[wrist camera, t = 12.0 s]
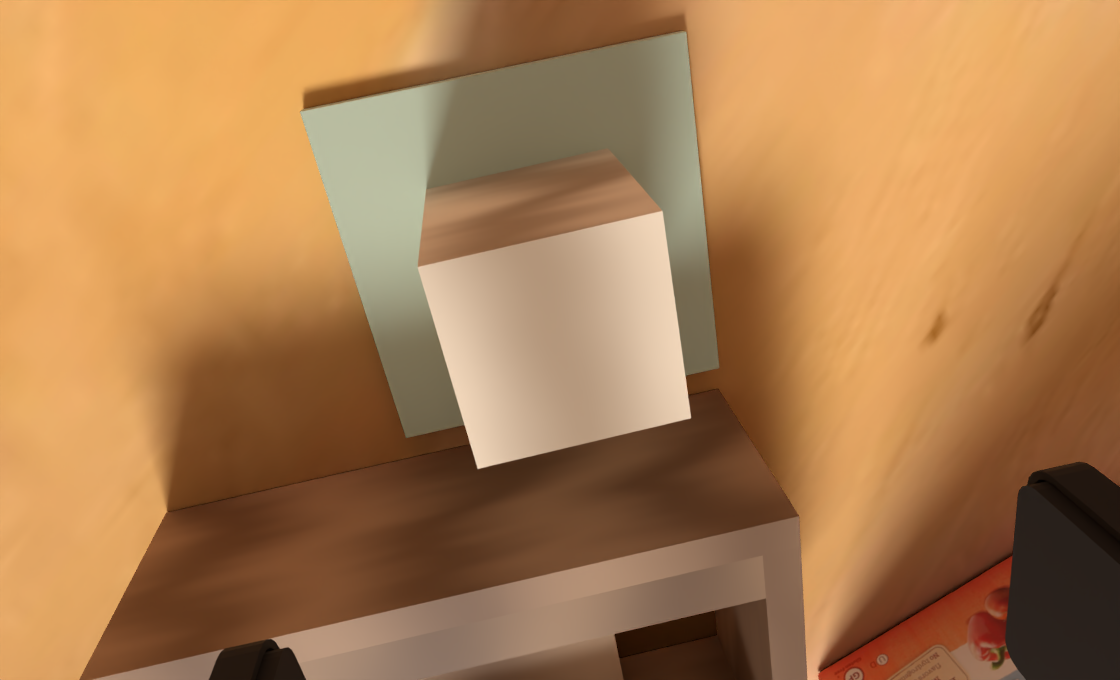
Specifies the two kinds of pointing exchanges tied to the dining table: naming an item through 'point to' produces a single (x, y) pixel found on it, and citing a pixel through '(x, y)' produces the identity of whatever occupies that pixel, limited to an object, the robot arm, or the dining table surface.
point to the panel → (497, 146)
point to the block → (553, 306)
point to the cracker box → (943, 639)
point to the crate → (485, 567)
